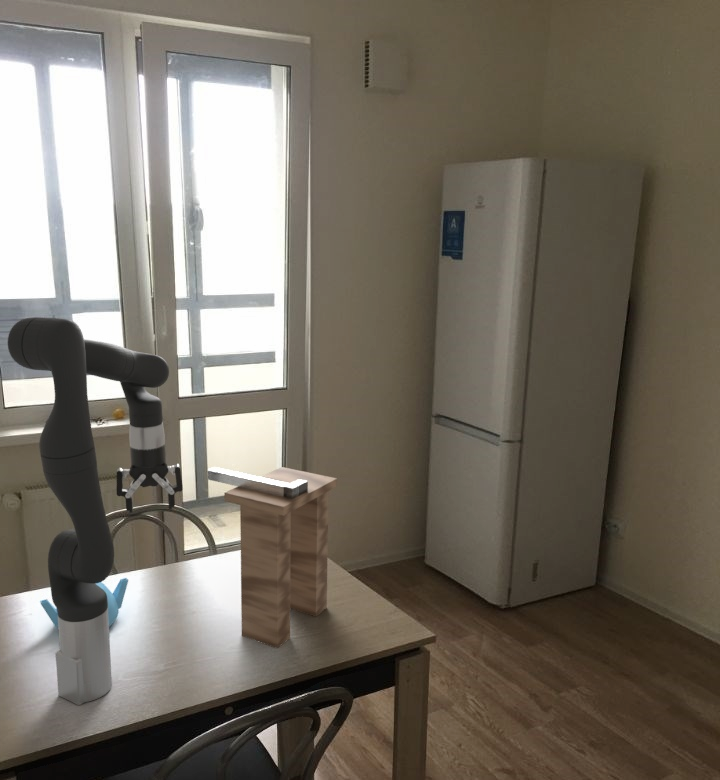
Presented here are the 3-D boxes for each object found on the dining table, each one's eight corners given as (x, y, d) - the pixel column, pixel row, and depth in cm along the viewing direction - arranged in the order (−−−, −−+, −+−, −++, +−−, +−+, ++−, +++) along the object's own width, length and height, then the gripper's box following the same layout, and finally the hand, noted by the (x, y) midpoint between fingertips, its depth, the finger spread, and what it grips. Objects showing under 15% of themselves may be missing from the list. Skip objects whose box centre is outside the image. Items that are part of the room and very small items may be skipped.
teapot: (134, 610, 172) (132, 569, 170) (103, 643, 158) (101, 599, 156) (75, 604, 174) (72, 564, 172) (40, 637, 160) (36, 593, 158)
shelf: (283, 651, 156) (283, 506, 149) (226, 631, 164) (224, 492, 157) (334, 609, 175) (337, 478, 168) (281, 592, 183) (281, 466, 176)
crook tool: (292, 499, 154) (292, 488, 153) (207, 479, 165) (207, 469, 165) (307, 491, 159) (307, 481, 158) (224, 472, 170) (224, 463, 170)
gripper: (112, 450, 152) (117, 519, 156) (180, 445, 155) (183, 514, 159) (114, 439, 159) (119, 506, 163) (179, 435, 162) (182, 501, 166)
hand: (151, 510), depth 161 cm, fingers open, 8 cm apart
